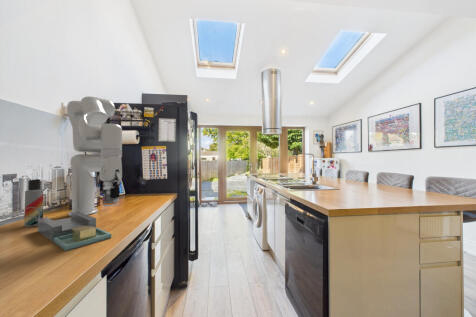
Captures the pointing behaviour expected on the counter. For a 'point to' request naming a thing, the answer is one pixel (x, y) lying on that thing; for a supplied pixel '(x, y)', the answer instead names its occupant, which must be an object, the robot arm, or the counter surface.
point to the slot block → (64, 225)
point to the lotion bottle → (33, 203)
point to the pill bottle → (106, 195)
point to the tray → (69, 243)
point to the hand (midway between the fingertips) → (111, 196)
